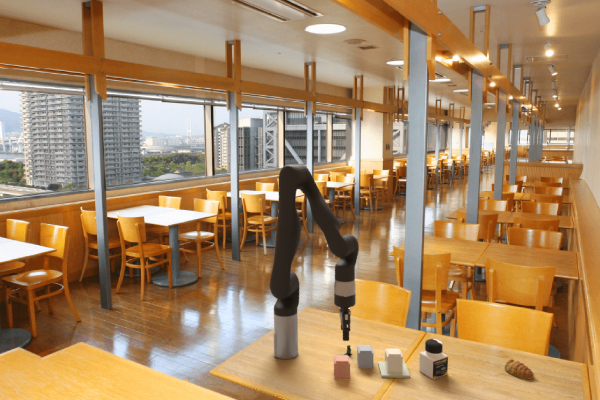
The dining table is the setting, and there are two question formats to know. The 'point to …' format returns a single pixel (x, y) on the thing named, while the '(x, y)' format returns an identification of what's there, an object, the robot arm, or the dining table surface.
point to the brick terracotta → (341, 367)
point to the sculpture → (348, 351)
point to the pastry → (518, 369)
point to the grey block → (365, 356)
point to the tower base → (393, 374)
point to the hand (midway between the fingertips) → (344, 335)
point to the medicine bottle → (433, 359)
